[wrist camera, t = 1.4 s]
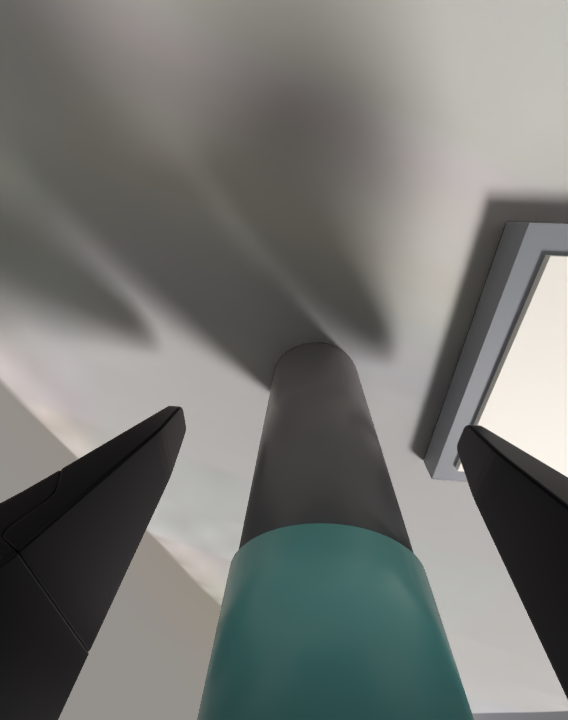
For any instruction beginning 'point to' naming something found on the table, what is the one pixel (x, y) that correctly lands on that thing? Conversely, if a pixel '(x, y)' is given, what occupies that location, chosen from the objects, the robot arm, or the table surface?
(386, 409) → the table surface
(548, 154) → the table surface
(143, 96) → the table surface
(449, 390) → the writing board
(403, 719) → the marker
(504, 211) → the table surface
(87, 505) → the robot arm
